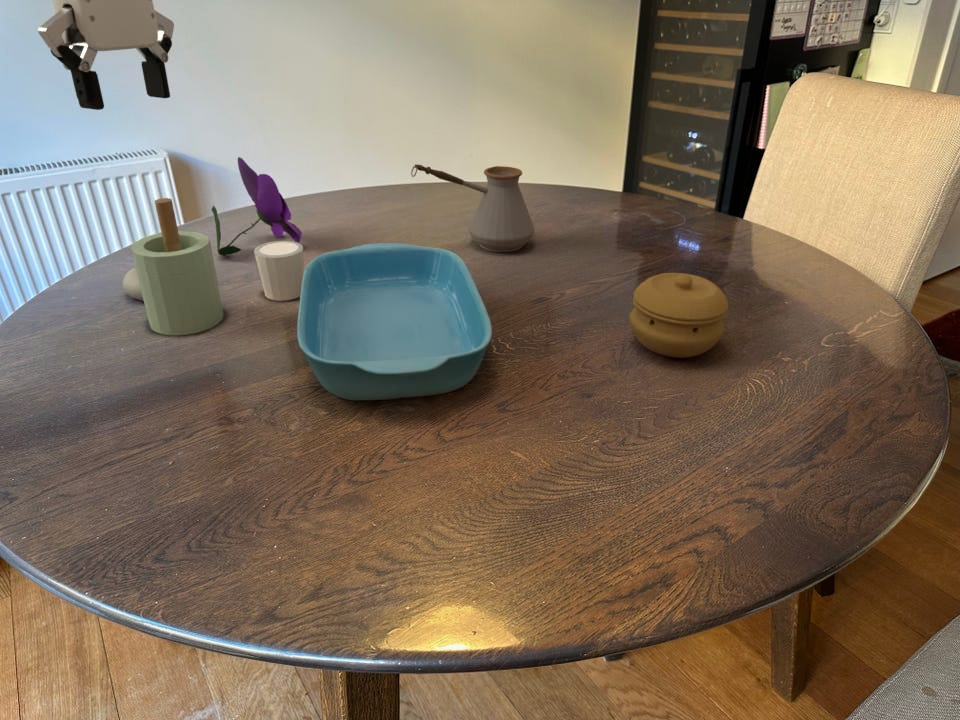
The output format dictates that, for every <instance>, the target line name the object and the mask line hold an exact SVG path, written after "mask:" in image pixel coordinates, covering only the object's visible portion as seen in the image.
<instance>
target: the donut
mask: <svg viewBox="0 0 960 720" xmlns="http://www.w3.org/2000/svg"><path fill="white" fill-rule="evenodd" d="M121 283H122V288H123V290H124V292H125V293H126V294H127V296H129V297H131V298H132V299H134V300H137V301H142V302H144V300H143V296H142V292H141V288H140V284H139V280H138V276H137V271H136V267H135V266H134V267H133V268H131V269H130V270H129V271H127V272H126V273H125V275H124V276H123V279H122V281H121Z"/></svg>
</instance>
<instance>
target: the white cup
mask: <svg viewBox="0 0 960 720" xmlns="http://www.w3.org/2000/svg"><path fill="white" fill-rule="evenodd" d="M253 253H254V257H255V261H256V264H257V268H258V273H259V276H260V281H261V284H262V289H263V293H264V295H265V297H266V298H267V299H268V300H272V301H278V302H283V301H290V300H295V299H297V298H300V296H301V286H302V279H303V275H304V271H305V269H304V245H303V244H301V243H297V242H295V241H294V240H293V241H292V240H274V241H269V242H265V243H262V244H260V245H257V246H256V247H255V248H254V251H253Z"/></svg>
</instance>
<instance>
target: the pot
mask: <svg viewBox="0 0 960 720" xmlns="http://www.w3.org/2000/svg"><path fill="white" fill-rule="evenodd" d="M632 303H633V304H634V306H635V307H633V309H632V310H631V312H630V313H629V324H630V327H631V329H632V331H633V333H634V335H635V337H636V339H637V340H638V342H640V344H641V345H642V346H644V347H645V348H646V349H648V350H649V351H651V352H653V353H655V354H658V355H661V356H665V357H669V358H677V359H680V358H681V359H683V358H684V359H687V358H692V357H697V356H699V355H702V354H704V353H707V352H708V351H709V350H711V349H712V348H713V347H714V346H715V345H716V344H717V343H718V342H719V340H720V339H721V338H722V337H723V335H724V332H725V327H726V326H725V323H724V320H723V319H724V318H725V317H726V316H727V315H728V312H729V302H728V298H727V297H726V295H725V293H724V292H723V290H722V289H721V288H720V287H719V286H718V285H716V284H715V283H714V282H712V281H711V280H709V279H707V278H704V277H701V276H698V275H694V274H690V273H684V272H665V273H659V274H656V275H652V276H651V277H648V278H646V279H645V280H643V282H641V283H640V284H638V286H637V287H636V288H635V290H634V291H633V296H632Z"/></svg>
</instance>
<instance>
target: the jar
mask: <svg viewBox="0 0 960 720" xmlns="http://www.w3.org/2000/svg"><path fill="white" fill-rule="evenodd" d="M178 233H179V237H180V242H181V247H182V250H180V251H174V252H165V247H164V242H163V238H162V233H161V232H160V233H155V234H151V235H147V236H145V237H142V238H140V239H138V240H137V241H134V243H133V244H131V246H130V251H131V255H132V259H133V263H134V268H135V267H136V271H137V276H138V280H139V284H140V288H141V292H142V296H143V300H144V301H143V303H144V307H145V313H146V315H147V320H148V325H149V327H150V329H151V330H152V331H153V332H155V333H157V334H160V335H165V336H188V335H193V334H197V333H202V332H204V331H207V330H209V329H212V328H214V327H215V326H217V325H218V324H219V323H220V322H221V321H223V318H224V310H223V309H224V308H223V304H222V299H221V293H220V288H219V283H218V277H217V271H216V265H215V260H214V256H213V250H212V244H211V240H210V237H209V236H208V235H206V234H205V233H202V232H198V231H189V230H178Z"/></svg>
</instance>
